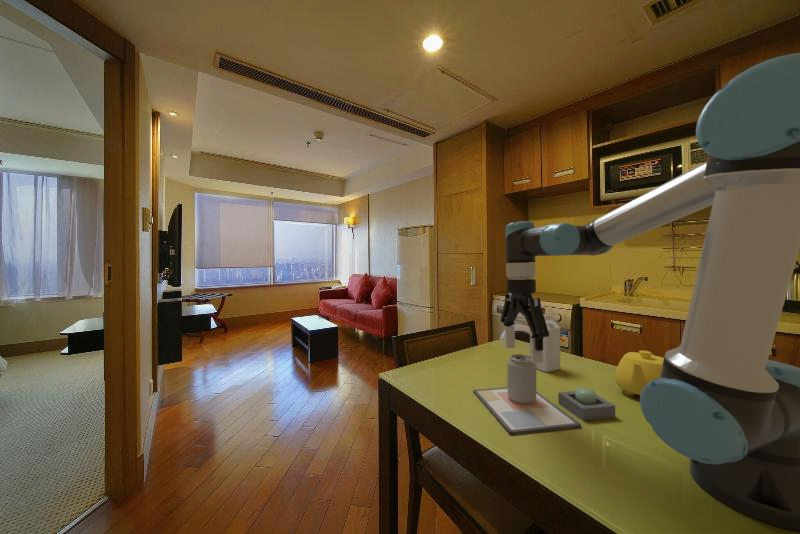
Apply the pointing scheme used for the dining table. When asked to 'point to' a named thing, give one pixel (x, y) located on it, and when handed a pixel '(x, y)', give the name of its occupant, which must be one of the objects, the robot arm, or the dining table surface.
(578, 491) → the dining table surface
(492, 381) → the dining table surface
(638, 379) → the teapot
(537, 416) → the picture sheet
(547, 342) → the milk carton
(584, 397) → the button
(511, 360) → the can
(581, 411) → the button housing
